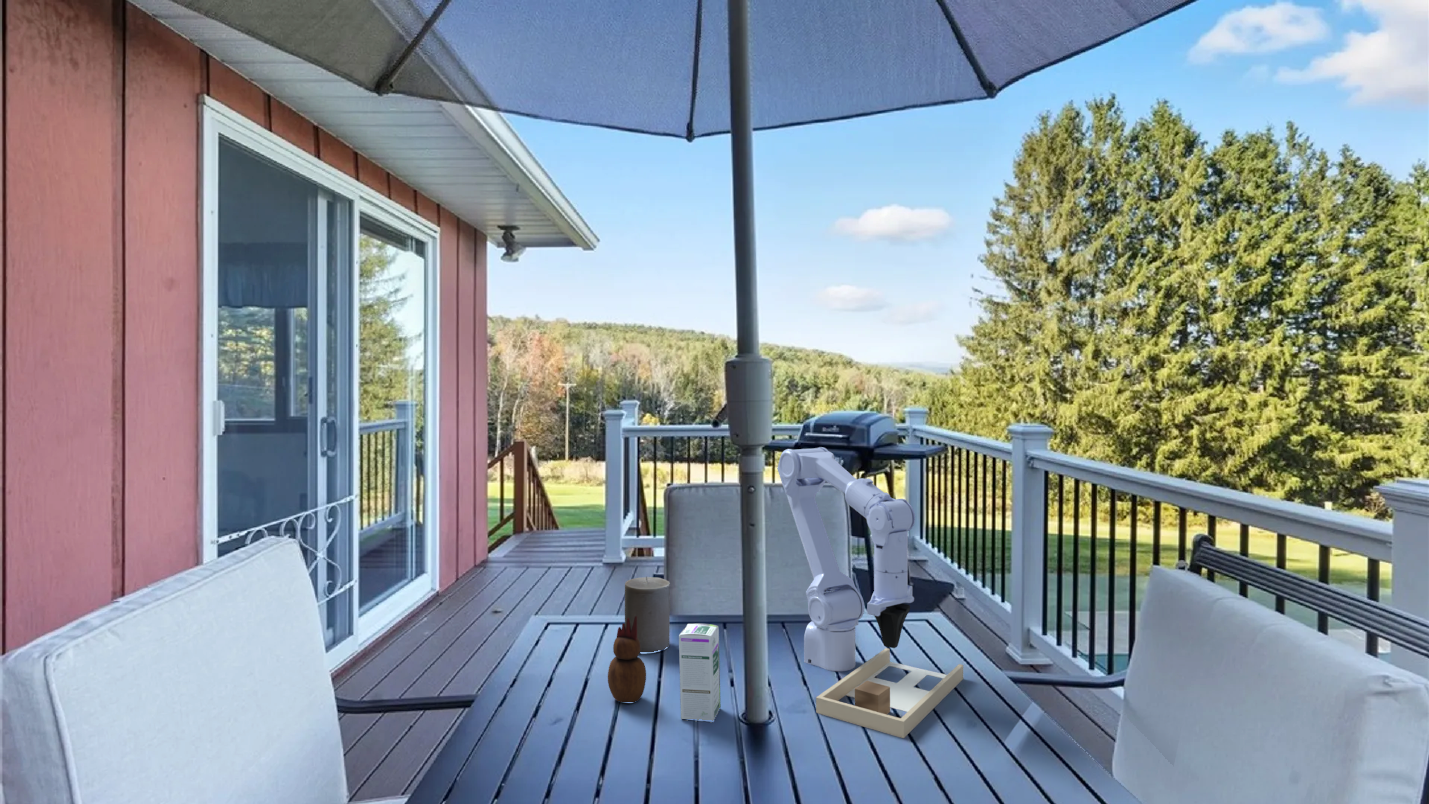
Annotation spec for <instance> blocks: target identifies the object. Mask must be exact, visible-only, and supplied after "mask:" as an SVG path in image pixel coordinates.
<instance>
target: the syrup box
mask: <svg viewBox="0 0 1429 804" xmlns="http://www.w3.org/2000/svg"><path fill="white" fill-rule="evenodd" d="M719 633H720V631H719V625H716V624H709V623H687V624H686V626H685V628H683V629H682V631H681V632H680V633H679V635H678V650H679V653H678V655H679V657H678V658H679V690H680V691H679V692H680V693H679V696H680V697H679V698H680V699H679V700H680V719H681V720H682V719H697V720H699V719H702V720H712V721H713V720H714V719H716V718H717V716H718V714H719V712H720V710H719V708H720V709H721V669H720V668H721V667H720V666H721V665H720V664H721V663H720V640H719V639H720V636H719V635H720V634H719ZM718 711H719V712H718ZM716 715H717V716H716ZM715 717H716V718H715ZM714 721H715V720H714Z"/></svg>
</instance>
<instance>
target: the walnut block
mask: <svg viewBox="0 0 1429 804" xmlns="http://www.w3.org/2000/svg"><path fill="white" fill-rule="evenodd" d="M854 706H858V707H861V708H865V709H868V710H872V711H876V712H879V713H883V714H886V715H889V714H890V713H891V707H890V687H888V686H885V685H881V684H877V683H874V682H870V681H866V682H864V683H863V684H861V685H859V686H858V687H856V688H855V698H854Z"/></svg>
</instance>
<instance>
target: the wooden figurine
mask: <svg viewBox="0 0 1429 804" xmlns="http://www.w3.org/2000/svg"><path fill="white" fill-rule="evenodd" d="M612 650H613V651H612V652H613V655H614V656H615V657H613V659H612V660H611V661H610V663H609V666H608V670H607V683H608V688H609V690H610V694H611V695H612V697H613V698H614V700H616V701H617V702H618V701H620V702H619V703H621V702H634V703H636V702H635V701H637V702H638V701H639V700H640V699H641V698H642V697H643V694H644V691H645V688H646V681H647V670H646V665H645V663H644V661H643V659H642V658H641V657H639V655H640V654H639V653H640V642H639V639H638V638H637V616H635V618H634V622H633V626H632V630H631V626H630V620H629V618H627V624H626V628H625V622H624V623H622V625H621V626H619V627H617V633H616V638H615V639H614V642H613V647H612Z"/></svg>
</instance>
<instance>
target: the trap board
mask: <svg viewBox="0 0 1429 804" xmlns="http://www.w3.org/2000/svg"><path fill="white" fill-rule="evenodd" d="M888 667H892V668H897V669H900V670H903V671H908V673H907V674H906V675H905V676H903V678H901V679H900V680H899V681H898V682H894V681H889V680H886V679H881V678H878V677H876V676H878V675H879V674H881V673H882V672H883V671H884V670H885V669H887V668H888ZM927 676H931V677H935V678H939V679H941V680H940V681H939V682H938V683H937V684H936V685H935V686H934V687H933V688H932V689H930V690H926V689H922V688H919V687H915V686H917V684H918V683H920V682H921V681H922V680H923V679H925V677H927ZM963 680H964V665H963V664H960V663H959V664H957V665H956V666H955V667H954V668H953V669H952V670H951V671H950V672H949V673H948V674H945V673H941V672H936V671H932V670H929V669H928V670H927V669H925V668H924V669H923V668H918V667H915V666H910V665H906V664H901V663H898V662H897V663H896V662H892V661H891V651H890V648H889V647H885V648H884V649H882V650H881V651H880V652H878V653H877V654H875V655H874V656H872V658H870V659H868V660H867V661H865V662H864V663H863V664H861V665H860V666H859V667H857V668H856V669H853V671H851V672H849V674H847V675H846V676H844V677H842V678H841V679H840V680H838V681H837V682H836V683H834V684H833V685H831V686H830V687H829V688H827V689H825V690H824V691H823V692H821V693H820V694H819V695H817V696H816V697H815V701H816V702H815V707H816V708H815V711H816V714H819V715H822V716H826V717H829V718H832V719H833V718H834V719H836V720H840V721H842V722H843V721H844V722H847V723H850V724H854V725H856V726H860V727H864V728H867V729H871V730H872V731H873V730H874V731H877V732H880V733H884V734H886V735H887V734H888V735H891V736H893V737H897V738H902V739H905V738H906V737H907V736H908V734H910V733H911V732H912V730H913V729H914V728H916V727H917V726H918V725H919V724H920V723H921V722H922V721H923V720H924V719H925V717H927V716H928V715H929V714H930V713H931V712H932V711H933V710H934V709H935V708H936V707H937V706H938V705H939V704H940V703H941V702H942V701H943V700H944V699H945V698H946V696H948V695H949V694H950V693H951V692H952V691H953V690H954V689H955V688H956V687H957V686H958V685H959V684H960V683H961V682H962V681H963ZM866 681H870V682H874V683H877V684H881V685H885V686H888V687H890V709H895V710H898V711H902V712H905V714H904V715H902V716H901V717H897V716H893V715H890V714H887V715H886V714H883V713H879V712H876V711H872V710H868V709H865V708H861V707H858V706H855V704H854V705H853V704H850V703H846V702H842V701H840V700H842V699H843V698H845V696H847V697H851V698H854V699H855V688H856V687H858V686H859V685H861V684H863V683H864V682H866Z"/></svg>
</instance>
